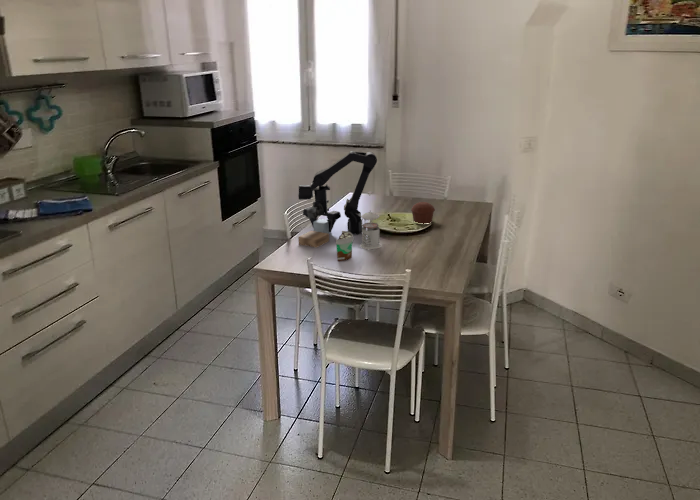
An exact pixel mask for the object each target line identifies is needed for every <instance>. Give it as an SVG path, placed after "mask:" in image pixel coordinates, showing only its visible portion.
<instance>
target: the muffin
mask: <svg viewBox="0 0 700 500" xmlns="http://www.w3.org/2000/svg"><path fill="white" fill-rule="evenodd" d="M410 211H411V213H412V219H413V220H412V221H413V222H414V221H415V222H418V223H423V224H424V223H430V222H431V223H432V222H433V219H434V218H433V217H434V214H435V211H436V209H435V206H433V204H432V203H429V202H427V201H420V202H417V203H415V204H413V205H412V208H411V210H410Z"/></svg>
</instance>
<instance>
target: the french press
mask: <svg viewBox="0 0 700 500" xmlns="http://www.w3.org/2000/svg"><path fill="white" fill-rule="evenodd" d="M372 194H373V191H368V192H367V195H372ZM379 218H380V215H379V214H378V213H376V212H371V211H368V212H365V213H363V214H361V219H362V221H363V220H364V221H369V222H364V223H362V232H361V235H362V236H361V237H362V240H361V241H362V242H361V243H360V245H359V247H360V248H361V249H364V250H377V249H380V248H381V247H382V246H383V244H382V243H380V241H381V240H380V227H379V224H378V223H377V222H372V221H373V220H376V219H377V220H378V219H379Z"/></svg>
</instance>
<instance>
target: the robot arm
mask: <svg viewBox="0 0 700 500" xmlns="http://www.w3.org/2000/svg"><path fill="white" fill-rule="evenodd" d="M353 162H355V163H359V164H362V168H361V171H360V174H359V176H358V178H357V179H358V180H357V181H356V184H355V187H354V190H353V192H352V195H351V197H350V198H346V199H345V200H346V202H345V204H344V205H343V211H344V216H345V217H346V218H347V223H346V224H347V226H346V227H347V231H348V232H350V233H352V235H353V234H354V235H359V234H362V227H363V226H362V225H363V220H362V217H361V216H362V214H361V213H362V212H360V211H359V209H358V208H359V203H360V199H361V197H362V194H363V191H364V188H365V186H366V184H367V180H368V179H369V175H370V173H371V172H372V171H373V169H374V168H375V166H376V164H377V162H378V159H377V155H376V153H375V152H374V151H368V152H363V151H354V150H350V151H349V152H348V153H347V154H345V155H344V156H343V157H341V158H340V159H339V160H337V161H335V162H334V163H333V164H332V165H330V166H328V167H326V168H324V169H321V170H319V171H316V173H314V175H313V180H312V182H311V183H310V184H308V185H306V184H305V185H303V184H300V185H298V193H297V195H298V196H297V197H298V200H299V201H301V200H302V201H303V200H304V201H308V200H310V201H311V200H312V199H313V198H314V201H313V202H312V206H308V207H305V208H304V209H303V210H302V215H303V216H305V218H307V219H309V221H310V224H311V226H312V227H313V222H315V221H317V220H318V219H317V218H319V217H321V216H323V217H326V218H327V219H326V220H327V221H328V224H329V232H331V233H332V231H333V229H334V226H335V223H336V221H337V220H338V219H340V218H341V217H342V215H341V212H340V211H337V210H333V211H330V208H328V203H329V201H330V200H328V194H327V191H330V190H331V186H330V185H328V181H329V180H330V179H331V178H332V177H333V176H334V175H335V174H337V173H338V172H340V171H341V170H342V169H344V168H345V167H347V166H349V165H350V164H351V163H353ZM329 211H330V212H329Z"/></svg>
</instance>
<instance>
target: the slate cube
mask: <svg viewBox="0 0 700 500" xmlns="http://www.w3.org/2000/svg"><path fill="white" fill-rule="evenodd" d="M327 220H328V219H323V218H319V219H317V221H315V222H313V226H312V228H313V231H317V232H322V233H328V234H329V235H330V234H331V233H332V231H331V232H329V224H328V221H327Z"/></svg>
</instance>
